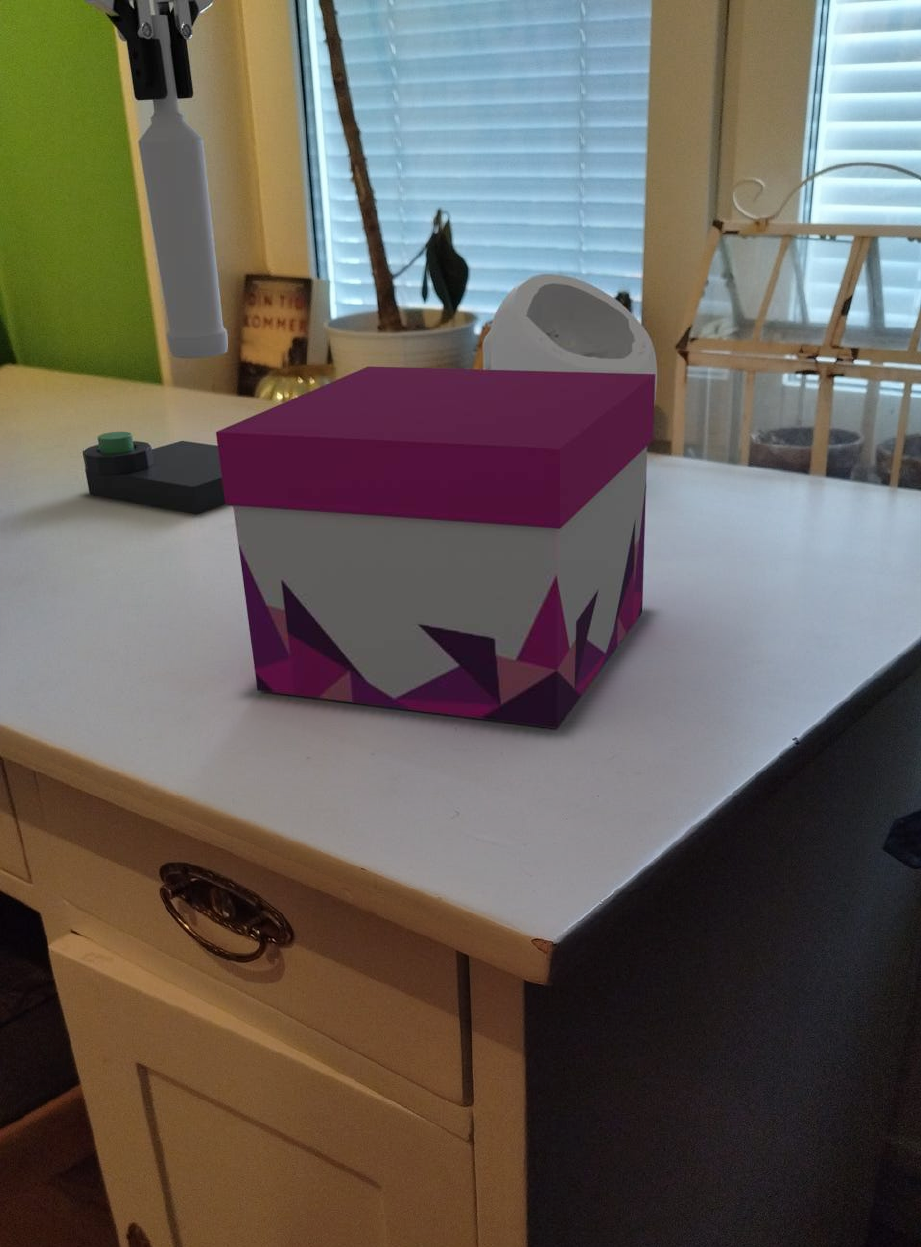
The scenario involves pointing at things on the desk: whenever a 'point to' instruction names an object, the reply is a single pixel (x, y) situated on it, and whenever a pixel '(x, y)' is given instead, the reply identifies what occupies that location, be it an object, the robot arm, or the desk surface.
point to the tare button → (115, 442)
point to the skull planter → (563, 305)
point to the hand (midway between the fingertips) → (164, 97)
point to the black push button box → (159, 476)
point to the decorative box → (443, 536)
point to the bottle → (182, 221)
